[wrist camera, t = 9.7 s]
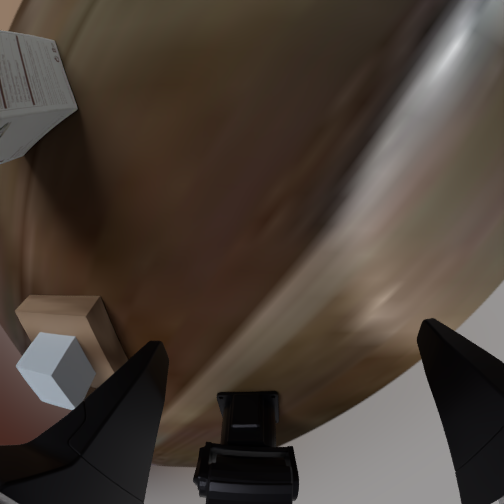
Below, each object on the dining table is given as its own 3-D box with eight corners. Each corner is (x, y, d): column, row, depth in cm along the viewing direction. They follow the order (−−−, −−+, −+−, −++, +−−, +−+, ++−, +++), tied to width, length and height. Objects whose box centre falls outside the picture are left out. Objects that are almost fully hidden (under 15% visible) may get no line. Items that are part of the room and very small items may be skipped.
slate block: (96, 373, 24) (78, 411, 20) (60, 367, 24) (41, 401, 20) (75, 336, 22) (51, 375, 17) (39, 332, 22) (15, 366, 18)
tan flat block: (133, 371, 28) (125, 392, 25) (65, 362, 28) (55, 379, 26) (100, 295, 23) (85, 316, 21) (29, 294, 24) (14, 310, 21)
